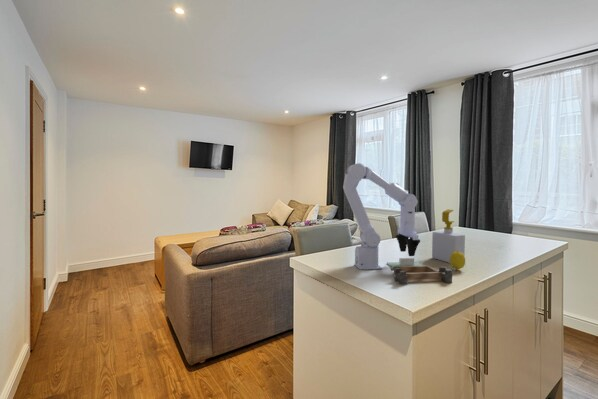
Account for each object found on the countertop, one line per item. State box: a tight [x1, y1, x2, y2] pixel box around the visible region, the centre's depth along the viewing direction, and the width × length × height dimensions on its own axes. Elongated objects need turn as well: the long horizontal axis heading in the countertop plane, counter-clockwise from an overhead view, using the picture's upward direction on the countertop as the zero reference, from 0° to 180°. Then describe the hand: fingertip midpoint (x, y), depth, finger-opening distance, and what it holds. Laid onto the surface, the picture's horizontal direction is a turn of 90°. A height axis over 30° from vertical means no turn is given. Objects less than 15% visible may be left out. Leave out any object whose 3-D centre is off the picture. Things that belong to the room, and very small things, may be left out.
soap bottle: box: [431, 209, 466, 264], centre depth 128 cm, size 12×7×23 cm, turn 23°
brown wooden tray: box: [393, 265, 453, 286], centre depth 104 cm, size 19×11×4 cm, turn 95°
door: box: [386, 257, 425, 272], centre depth 119 cm, size 17×10×4 cm, turn 95°
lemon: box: [449, 251, 466, 271], centre depth 114 cm, size 6×6×8 cm
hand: (407, 253), depth 119 cm, fingers open, 7 cm apart
